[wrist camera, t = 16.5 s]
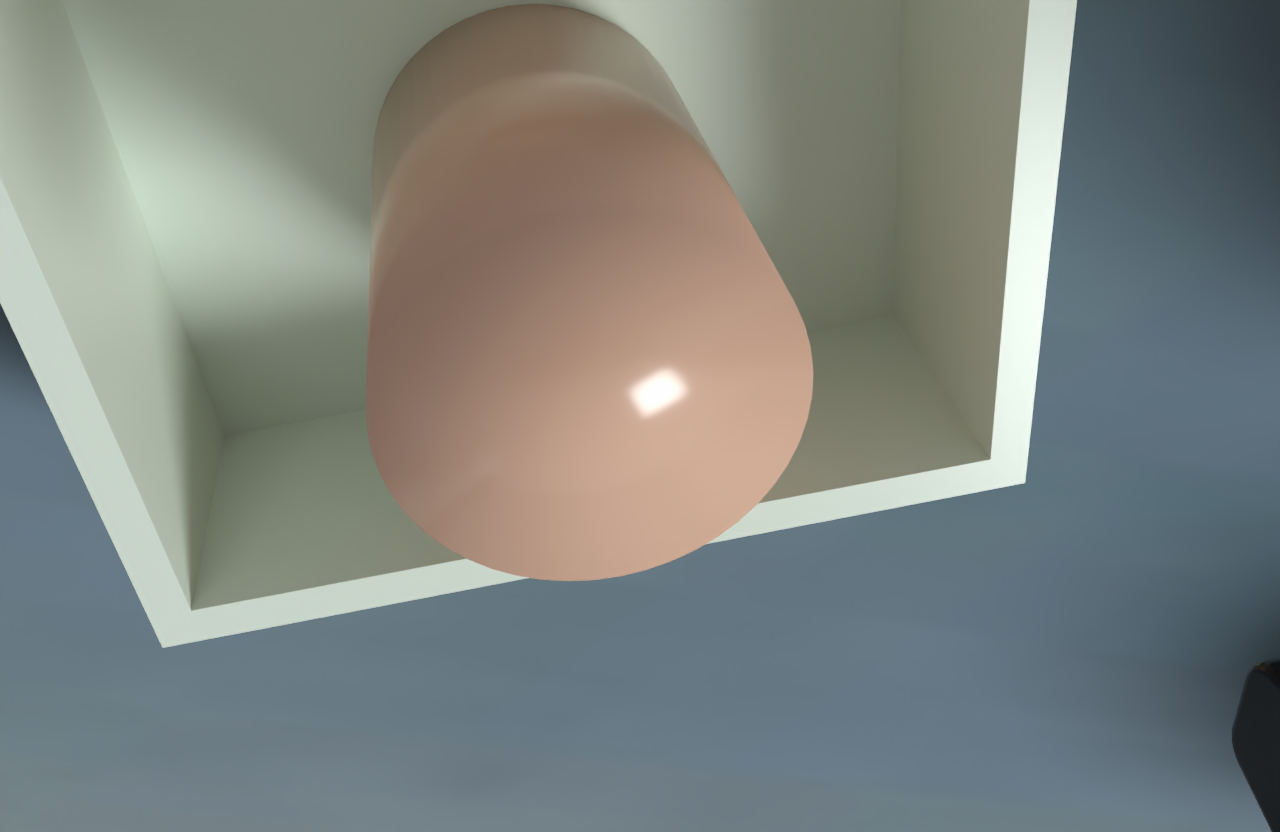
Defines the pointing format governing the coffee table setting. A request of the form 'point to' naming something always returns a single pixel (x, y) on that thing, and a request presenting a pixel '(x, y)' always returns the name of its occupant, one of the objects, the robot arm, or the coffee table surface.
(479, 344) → the cylinder
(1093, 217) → the coffee table surface
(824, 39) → the box
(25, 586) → the coffee table surface
